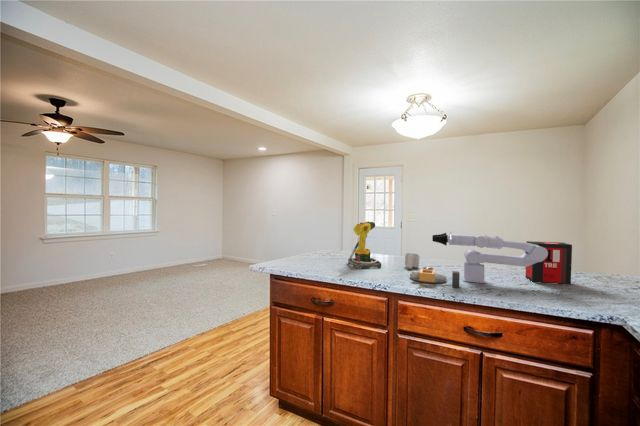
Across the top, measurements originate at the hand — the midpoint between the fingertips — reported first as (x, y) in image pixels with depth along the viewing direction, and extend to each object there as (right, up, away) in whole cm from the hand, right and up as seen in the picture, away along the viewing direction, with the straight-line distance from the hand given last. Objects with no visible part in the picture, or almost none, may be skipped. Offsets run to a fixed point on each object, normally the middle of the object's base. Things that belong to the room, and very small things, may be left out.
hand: (432, 238), depth 162 cm
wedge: (+5, -22, -18) cm, 29 cm away
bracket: (-8, -20, -9) cm, 23 cm away
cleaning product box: (+57, -22, -7) cm, 61 cm away
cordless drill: (-32, -20, +31) cm, 49 cm away
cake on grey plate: (-4, -21, -3) cm, 22 cm away
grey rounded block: (-5, -21, +23) cm, 31 cm away
